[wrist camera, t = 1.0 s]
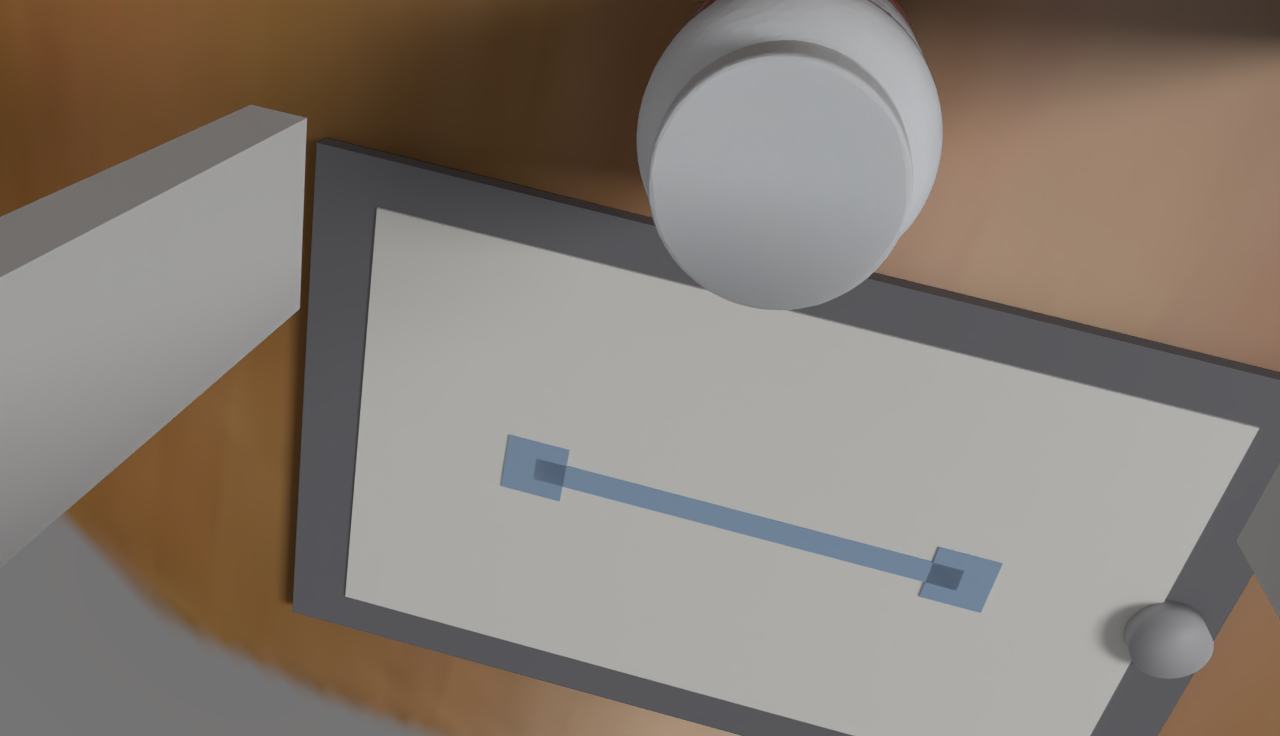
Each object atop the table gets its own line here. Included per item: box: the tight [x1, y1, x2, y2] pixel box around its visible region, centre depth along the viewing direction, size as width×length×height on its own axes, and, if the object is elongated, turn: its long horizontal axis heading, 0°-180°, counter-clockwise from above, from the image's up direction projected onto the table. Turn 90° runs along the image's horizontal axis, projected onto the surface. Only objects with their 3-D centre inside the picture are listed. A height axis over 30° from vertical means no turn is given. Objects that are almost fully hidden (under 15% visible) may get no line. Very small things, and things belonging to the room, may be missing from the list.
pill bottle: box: [636, 0, 943, 310], centre depth 24 cm, size 6×6×11 cm
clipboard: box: [292, 138, 1280, 736], centre depth 34 cm, size 18×30×1 cm, turn 79°
